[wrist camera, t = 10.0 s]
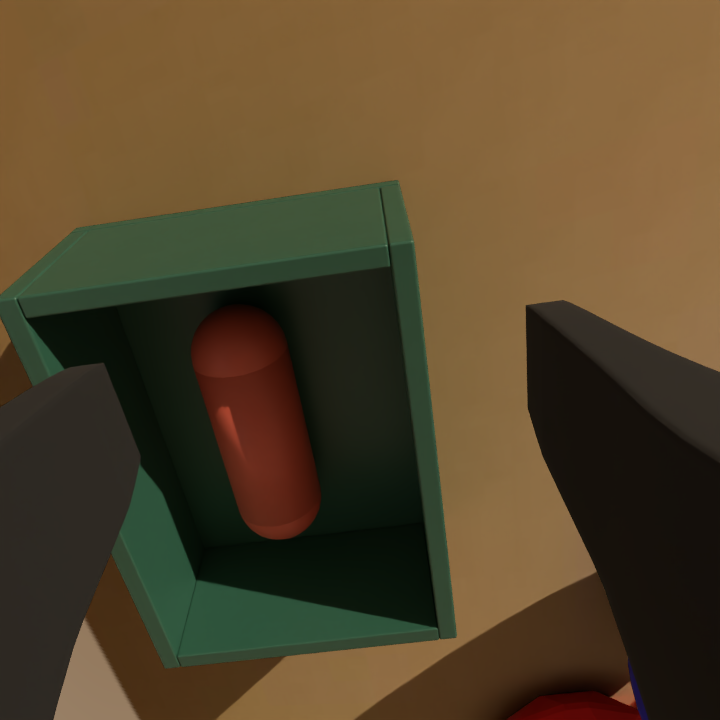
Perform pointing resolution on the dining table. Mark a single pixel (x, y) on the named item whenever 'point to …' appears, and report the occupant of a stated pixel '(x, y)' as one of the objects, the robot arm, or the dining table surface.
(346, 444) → the bin
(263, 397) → the red capsule pill
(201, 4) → the dining table surface
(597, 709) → the gemstone
